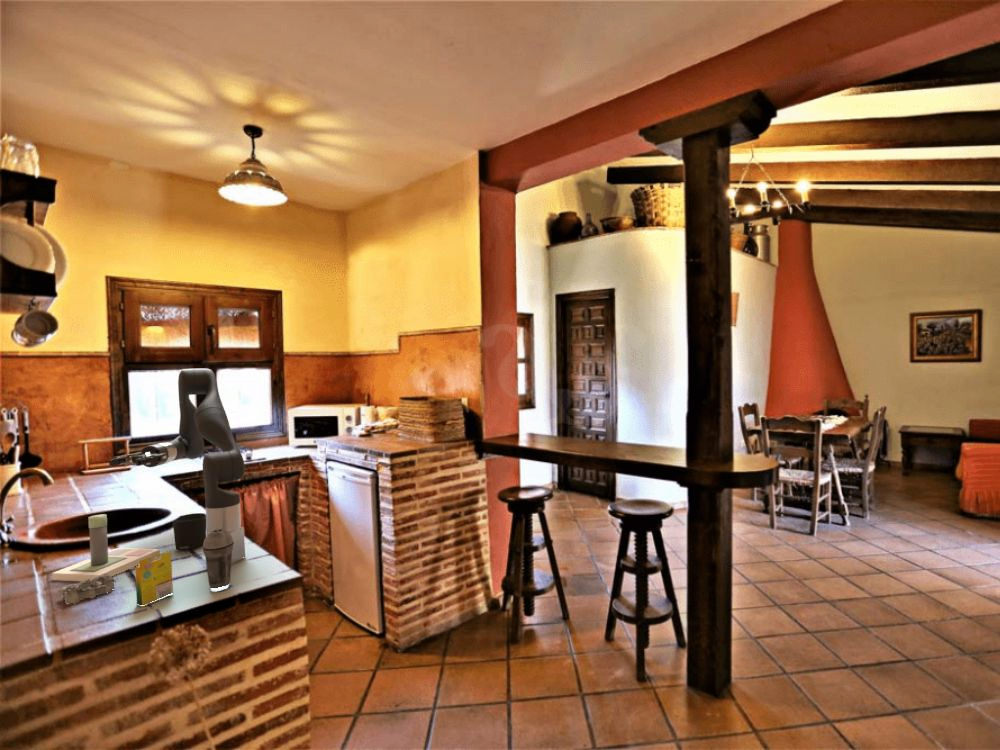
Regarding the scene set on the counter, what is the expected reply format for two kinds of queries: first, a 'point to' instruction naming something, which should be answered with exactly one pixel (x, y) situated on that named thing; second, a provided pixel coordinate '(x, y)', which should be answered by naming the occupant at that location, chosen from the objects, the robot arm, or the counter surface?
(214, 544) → the beverage cup
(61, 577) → the drawing board
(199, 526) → the pen holder
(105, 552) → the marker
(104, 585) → the egg carton
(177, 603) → the counter surface
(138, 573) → the crayon box
